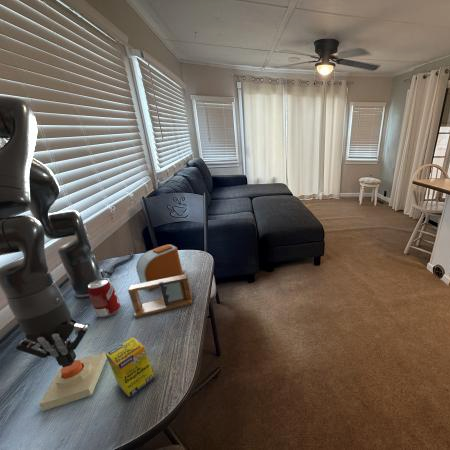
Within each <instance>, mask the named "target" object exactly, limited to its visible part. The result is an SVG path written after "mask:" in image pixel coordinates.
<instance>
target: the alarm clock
mask: <svg viewBox="0 0 450 450" xmlns="http://www.w3.org/2000/svg"><path fill="white" fill-rule="evenodd" d="M135 267H136V268H135V269H136V273H137V276H138V280H139V283H144V282H149V281H154V280H159V279H164V278H169V277H174V276H179V275H184V274H183V272H184V271H183V267H182V264H181V259H180V255H179V251H178V247H177V246H175V245H173V244H170V243H169V244H165V245H161V246H158V247H156V248H153V249H151V250H148V251H146V252H144V253H143V254H141V255H140V257H138V260H137V262H136V265H135ZM155 288H156V289H157V287H153V288H148V289H147V290H148V291H151V290H154V289H155Z"/></svg>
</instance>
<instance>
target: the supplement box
mask: <svg viewBox="0 0 450 450" xmlns="http://www.w3.org/2000/svg"><path fill="white" fill-rule="evenodd" d="M105 354H106V357H107V359H106V360H107V361H108V364H109V366H110V368H111V372H112V373H113V376H114V378H115V380H116V383H117V385H118V387H119V388H120V389H121V390H122V391H123V392H124V394H125V395H126V396H127V397H128V398H129V399H131V398H132V397H134V396H135V395H136V394H137V393H138V392H139V391H140V390H142V389H143V388H144V387H146V386H147V385H148V384H150V383H151V382H152V381H153V380H155V375H154V371H153V369H152V366H151V362H150V360H149V357H148V354H147V351H146V348H145V346H144V345H143V344H142V343H141V342H140V341H138V339H136V338H135V337H133V336H131V337H130V338H128V339H127V340H126V341H124V342H123V343H121V344H119V345H118V346H116V347H114V348H113V349H111V350H109V351H108V352H105Z"/></svg>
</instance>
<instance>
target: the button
mask: <svg viewBox="0 0 450 450" xmlns="http://www.w3.org/2000/svg"><path fill="white" fill-rule="evenodd" d="M82 368H83V366H82V364H81V362H80V361H79V360H78V359H75V360H74V362H73V363H72V365H70V366H67V367H63V368H62V369H61V368H60V369H61V373H62V375H63V377H64V378H70V377H73V376H74V375H76V374H78V373H79V372H80V371H81V370H82Z"/></svg>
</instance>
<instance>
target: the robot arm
mask: <svg viewBox="0 0 450 450" xmlns="http://www.w3.org/2000/svg"><path fill="white" fill-rule="evenodd" d="M37 136H38V125H37V120H36V116H35V114H34V112H33V110H32V108H31V107H30V105H29V104H28V103H27V102H26V101H25V100H23V99H21V98H19V97H18V98H17V97H12V96H3V95H2V96H1V95H0V256H5V255H10V254H16V253H22V254H23V255H22V256H23V258H20V259H17V260H14V261H12V262H9V263H7V264H5V265H3V266H1V267H0V289H1V290H2V293H3V294H4V296H5V298H6V300H7V304H8V307H9V309H10V311H11V313H12V315H13V316H14V318H15V320H16V322H17V324H18V325H19V326H20V329H21V330H22V332H23V333H24V338H23V339H21V341H20V342H19V343H18V344H17V346H15V349H16V350H17V351H20V352H24V353H27V354H30V355H33V356H35V357H38V358H41V359H46V358H48V357H52V358H55V360H56V362H57V364H58V365H59V367H67V366H70V365H72V363H73V362H74V360H77V354H76V353H75V350H77V348H78V347H79V345H80V343H82V342H81V341H83V338H84V337H85V336H86V333H87V332H88V330H89V328H90V327H91V324H90V322H85V323H84V324H81V323H77V320H76V319H74V318H73V317H72V315H71V311H70V308H69V306H68V303H67V302H66V300H65V297H64V295H63V293H62V290H61V289H60V287H59V286H58V285H57V283H56V282H55V280H54V278H53V276H52V274H51V271H50V268H49V267H48V264H47V259H46V250H45V238H47V239H50V240H59V239H64V238H69V237H73V236H75V237H74V238H73V239H72V240H70V241H69V242H67V243H65V244H63V245H61V246H60V247H58V249H57V254H58V257H59V259H60V261H61V264H62V266H63V268H64V270H65V272H66V275H67V277H68V280H69V282H70V284H71V286H72V289H73V291H74V295H75V296H76V298H81V299H83V298H88V297H89V294H88V289H89V288H88V285H89V284H90V283H92V282H94V281H96V280H99V279H104V278H106V276H107V275H111V274H113V273H114V268H115V267H117V266H118V265H121V264H124V263H125V262H128V261H130V260H131V259H132V257H133V255H134V254H135V253H134V252H130V253H129V256H128V258H126V259H124V260H121V261H119V262H117V263H115V264H113V265H112V266H111V267H110V270H109V271H108V270H105V269H104V268H100V266H99V264H98V261H97V259H96V256H95V254H94V251H93V248H92V245H91V243H90V240H89V238H88V234H87V232H86V227H85V224H84V221H83V218H82V216H81V214H80V212H79V211H77V210H75V209H69V210H64V211H57V212H50V209H51V208H52V206H53V205H54V204H55V202H56V201H57V199H58V198H59V195H60V192H61V188H60V185H59V182H58V181H57V179H56V177H55V175H54V172H53V171H52V170H51V169H50V168H49V167H48V166H46V165H45V164H44V163H43V162H41V161H39V160H37V159H36V158H34V153H35V147H36V142H37V139H38V138H37ZM7 139H8V140H7ZM28 210H29V211H30V213H31V215H32V216H31V215H27V214H23V215H21V214H22V213H24V212H26V211H28ZM19 214H20V215H19ZM131 255H132V256H131ZM73 331H74V335H75V336H76V337H75V338H74V340H73V341H72V333H73Z"/></svg>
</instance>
